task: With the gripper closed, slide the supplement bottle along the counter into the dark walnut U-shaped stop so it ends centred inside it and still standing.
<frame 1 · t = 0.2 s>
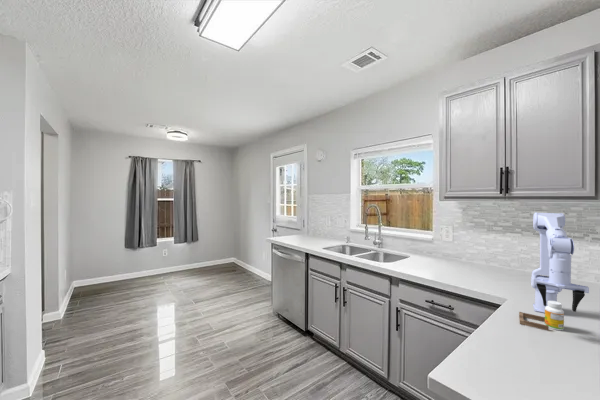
hand: (559, 307, 98), 10 cm above the worktop, tool pointing down, fingers open, 7 cm apart
supplement bottle: (553, 327, 104), on the worktop
walnut stop: (535, 323, 107), on the worktop
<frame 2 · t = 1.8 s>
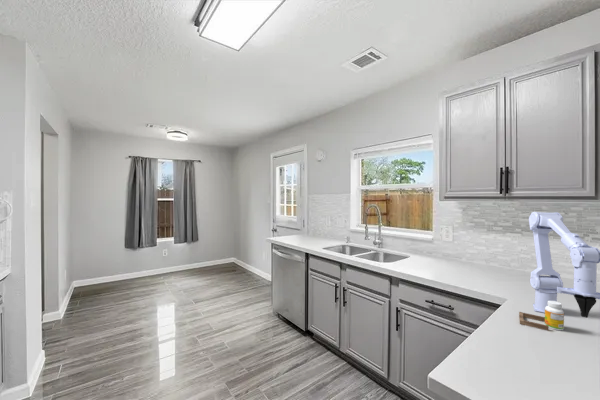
hand: (584, 316, 99), 7 cm above the worktop, tool pointing down, fingers closed
nothing on the worktop moved.
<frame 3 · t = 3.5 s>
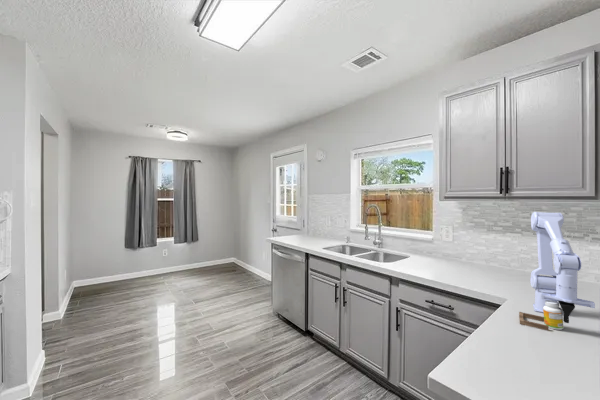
hand: (566, 321, 102), 3 cm above the worktop, tool pointing down, fingers closed, pressing on supplement bottle
supplement bottle: (554, 327, 104), on the worktop, touching gripper
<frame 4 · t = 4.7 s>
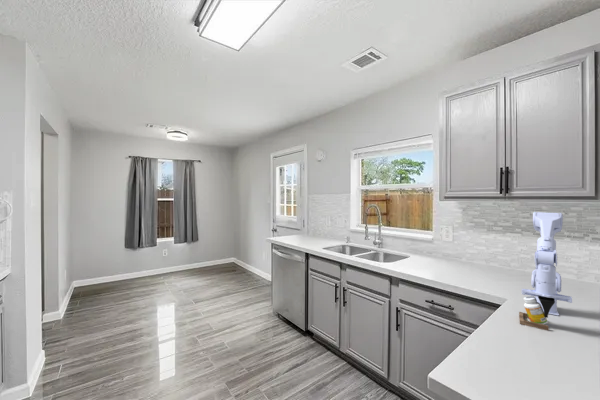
hand: (545, 316, 105), 4 cm above the worktop, tool pointing down, fingers closed, pressing on supplement bottle
supplement bottle: (539, 322, 106), point 1 cm above the worktop, touching gripper
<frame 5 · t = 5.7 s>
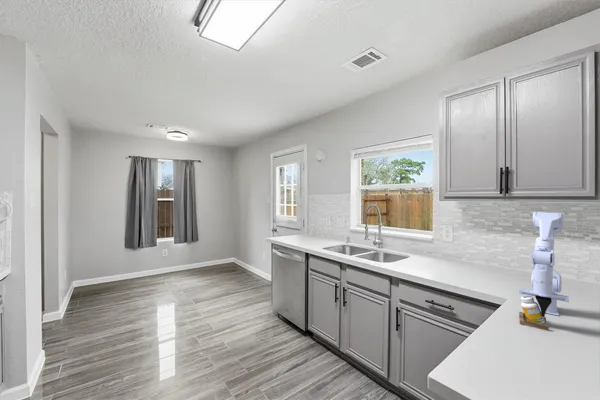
hand: (542, 316, 105), 4 cm above the worktop, tool pointing down, fingers closed, pressing on supplement bottle
supplement bottle: (536, 322, 107), on the worktop, touching gripper
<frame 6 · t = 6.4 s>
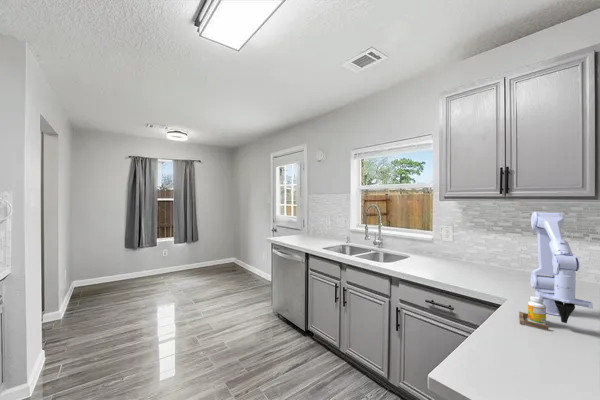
hand: (563, 321, 102), 3 cm above the worktop, tool pointing down, fingers closed
supplement bottle: (536, 323, 107), on the worktop
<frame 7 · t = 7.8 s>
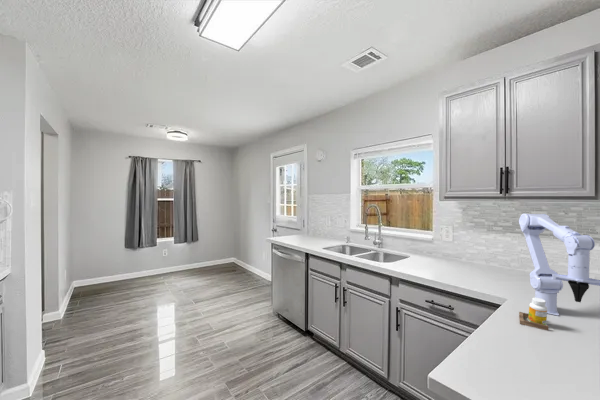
hand: (577, 301, 103), 10 cm above the worktop, tool pointing down, fingers closed
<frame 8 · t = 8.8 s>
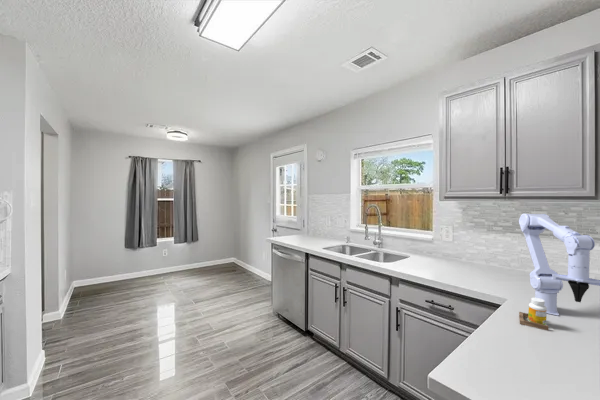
hand: (577, 301, 103), 10 cm above the worktop, tool pointing down, fingers closed
at the end: supplement bottle 1.5 cm from the target spot on the walnut stop, point 0.0 cm above the walnut stop's base; supplement bottle tilted 4°; supplement bottle moved 5.0 cm from its start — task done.
